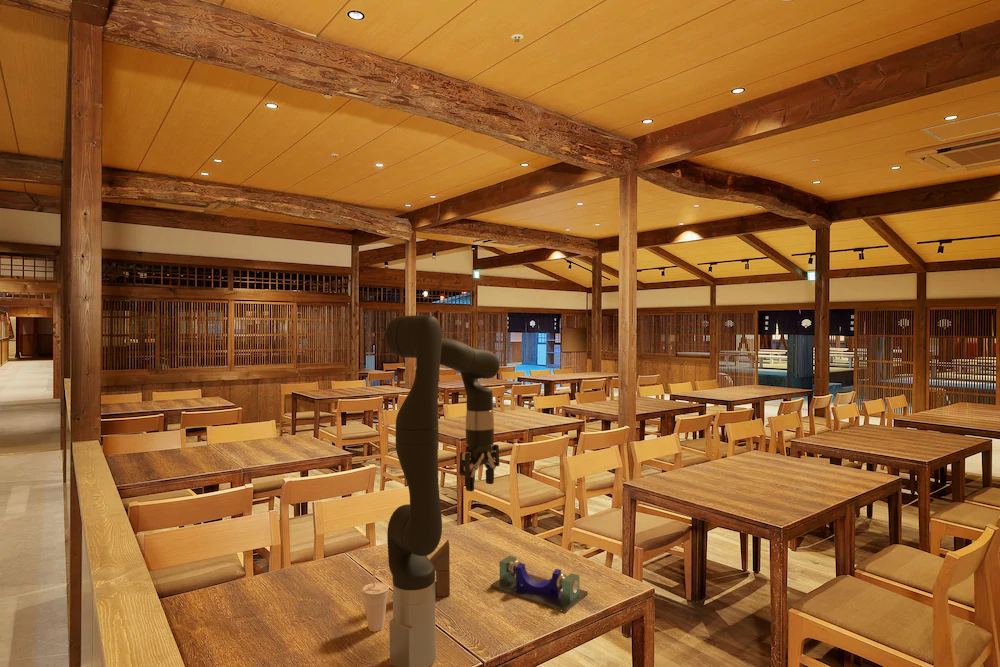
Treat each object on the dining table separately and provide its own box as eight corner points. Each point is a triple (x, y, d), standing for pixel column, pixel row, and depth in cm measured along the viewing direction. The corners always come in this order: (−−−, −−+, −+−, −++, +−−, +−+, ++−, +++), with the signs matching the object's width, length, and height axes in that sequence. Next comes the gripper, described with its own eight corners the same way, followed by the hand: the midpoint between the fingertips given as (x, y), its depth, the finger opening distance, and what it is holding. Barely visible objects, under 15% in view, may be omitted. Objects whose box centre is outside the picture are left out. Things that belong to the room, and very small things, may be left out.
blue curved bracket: (562, 589, 154) (562, 567, 154) (558, 596, 149) (557, 574, 149) (521, 582, 158) (521, 560, 158) (516, 588, 154) (515, 567, 154)
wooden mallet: (449, 596, 152) (449, 530, 151) (409, 599, 150) (409, 532, 150) (449, 590, 155) (448, 525, 155) (409, 593, 154) (409, 527, 153)
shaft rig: (565, 612, 142) (565, 587, 142) (490, 587, 157) (490, 564, 157) (587, 594, 152) (587, 570, 152) (514, 572, 166) (514, 550, 166)
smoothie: (378, 618, 140) (377, 562, 140) (394, 626, 136) (394, 569, 136) (356, 628, 135) (356, 571, 135) (373, 637, 131) (373, 578, 131)
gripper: (474, 432, 142) (474, 496, 142) (506, 424, 153) (506, 483, 153) (451, 429, 146) (452, 491, 146) (484, 421, 157) (485, 479, 158)
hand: (480, 487), depth 150 cm, fingers open, 8 cm apart
